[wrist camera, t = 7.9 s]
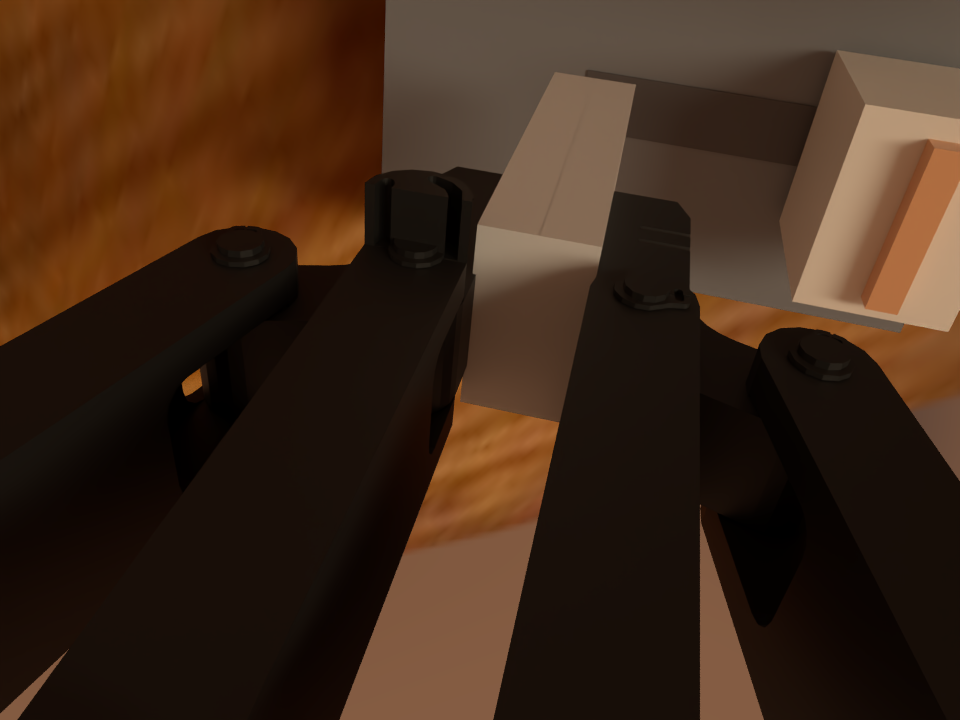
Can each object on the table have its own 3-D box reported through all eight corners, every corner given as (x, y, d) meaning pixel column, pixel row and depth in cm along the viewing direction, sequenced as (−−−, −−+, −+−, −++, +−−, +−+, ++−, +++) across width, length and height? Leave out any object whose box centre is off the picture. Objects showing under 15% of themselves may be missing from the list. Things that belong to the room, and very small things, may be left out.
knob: (778, 221, 19) (794, 313, 16) (836, 50, 17) (870, 112, 14) (908, 244, 19) (954, 345, 15) (985, 72, 17) (1060, 143, 13)
